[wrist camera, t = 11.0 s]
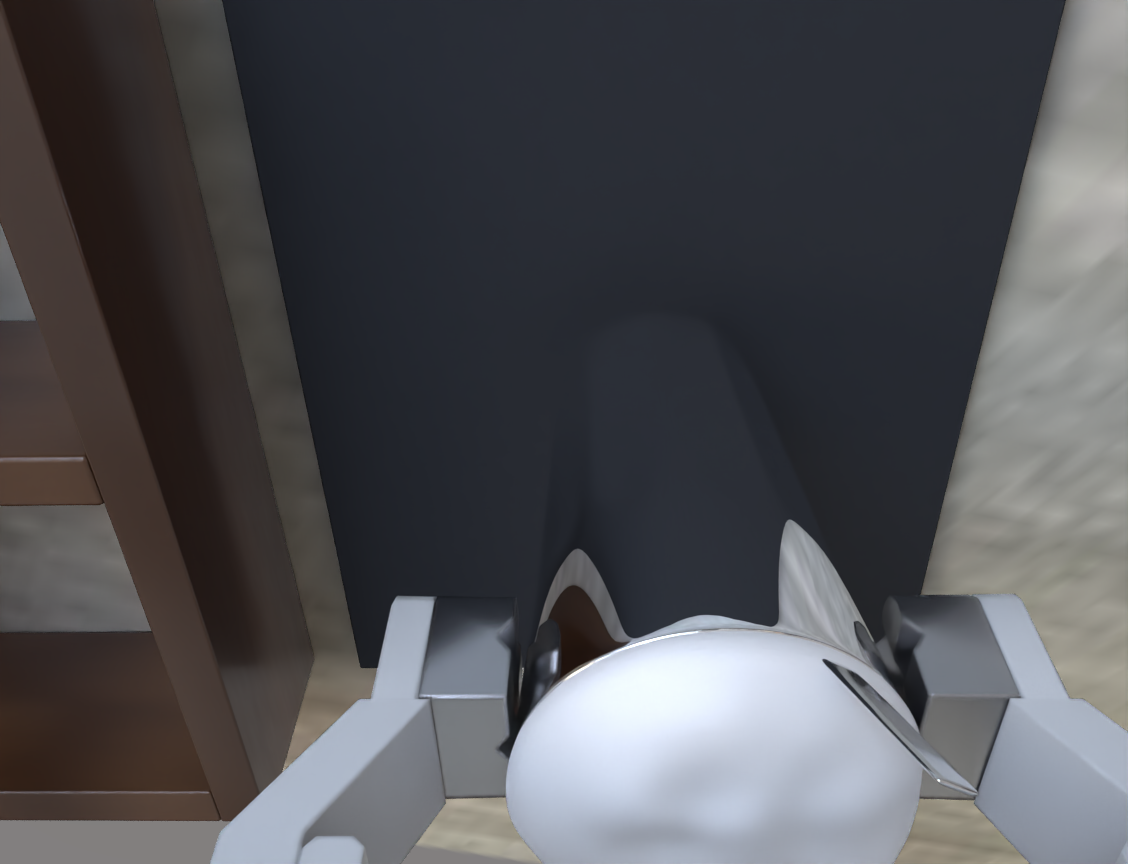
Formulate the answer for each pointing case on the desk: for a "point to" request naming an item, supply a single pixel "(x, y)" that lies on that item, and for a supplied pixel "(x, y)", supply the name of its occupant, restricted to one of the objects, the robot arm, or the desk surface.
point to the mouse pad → (631, 248)
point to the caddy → (133, 443)
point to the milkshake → (697, 634)
